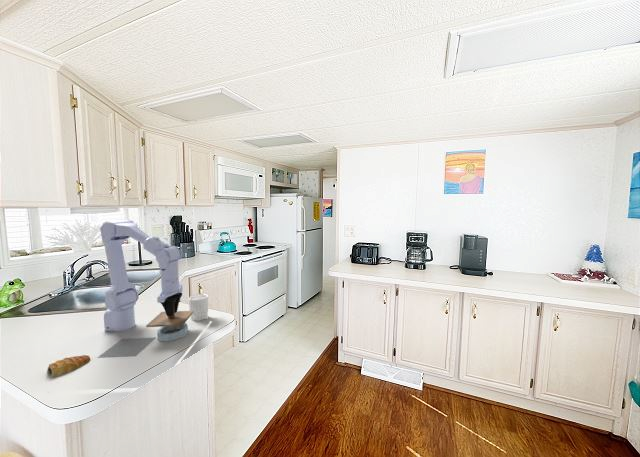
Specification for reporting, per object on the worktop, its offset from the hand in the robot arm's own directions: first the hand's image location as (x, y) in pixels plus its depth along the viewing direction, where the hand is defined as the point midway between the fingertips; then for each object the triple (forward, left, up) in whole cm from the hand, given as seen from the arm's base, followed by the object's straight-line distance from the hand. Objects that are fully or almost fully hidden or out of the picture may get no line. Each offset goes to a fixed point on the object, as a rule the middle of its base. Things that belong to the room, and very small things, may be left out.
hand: (171, 314), depth 97 cm
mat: (-11, -8, -9) cm, 16 cm away
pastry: (-22, -19, -9) cm, 30 cm away
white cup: (+4, +15, -9) cm, 18 cm away
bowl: (0, 0, -9) cm, 9 cm away
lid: (0, 0, -2) cm, 2 cm away
